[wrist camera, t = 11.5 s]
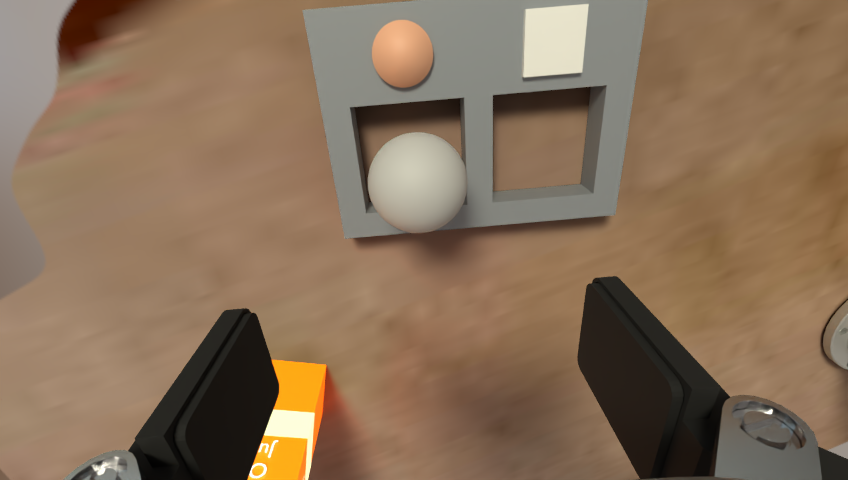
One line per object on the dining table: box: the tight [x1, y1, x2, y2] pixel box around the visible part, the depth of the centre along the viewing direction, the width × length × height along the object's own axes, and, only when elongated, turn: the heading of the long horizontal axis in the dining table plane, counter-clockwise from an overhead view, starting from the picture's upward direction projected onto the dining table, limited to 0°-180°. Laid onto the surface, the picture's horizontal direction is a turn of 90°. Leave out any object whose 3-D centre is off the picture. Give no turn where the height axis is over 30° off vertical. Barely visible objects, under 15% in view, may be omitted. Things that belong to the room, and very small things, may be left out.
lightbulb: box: [368, 132, 468, 233], centre depth 26 cm, size 6×6×11 cm
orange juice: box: [248, 360, 326, 480], centre depth 33 cm, size 8×9×20 cm
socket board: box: [303, 0, 648, 239], centre depth 29 cm, size 22×16×3 cm
